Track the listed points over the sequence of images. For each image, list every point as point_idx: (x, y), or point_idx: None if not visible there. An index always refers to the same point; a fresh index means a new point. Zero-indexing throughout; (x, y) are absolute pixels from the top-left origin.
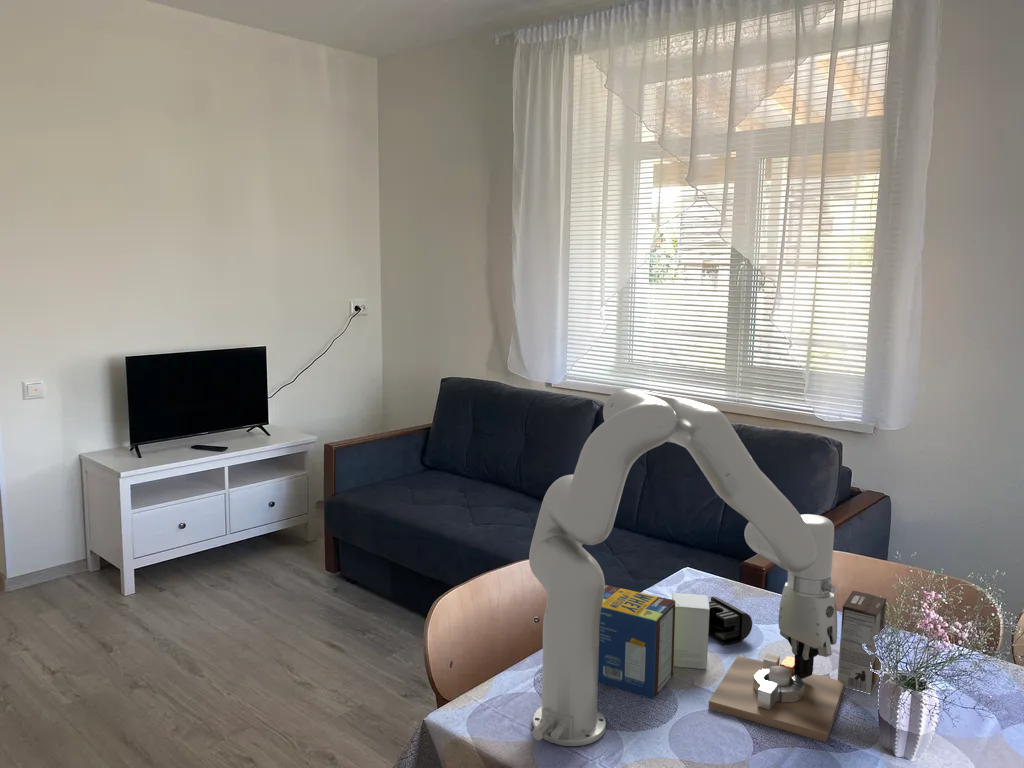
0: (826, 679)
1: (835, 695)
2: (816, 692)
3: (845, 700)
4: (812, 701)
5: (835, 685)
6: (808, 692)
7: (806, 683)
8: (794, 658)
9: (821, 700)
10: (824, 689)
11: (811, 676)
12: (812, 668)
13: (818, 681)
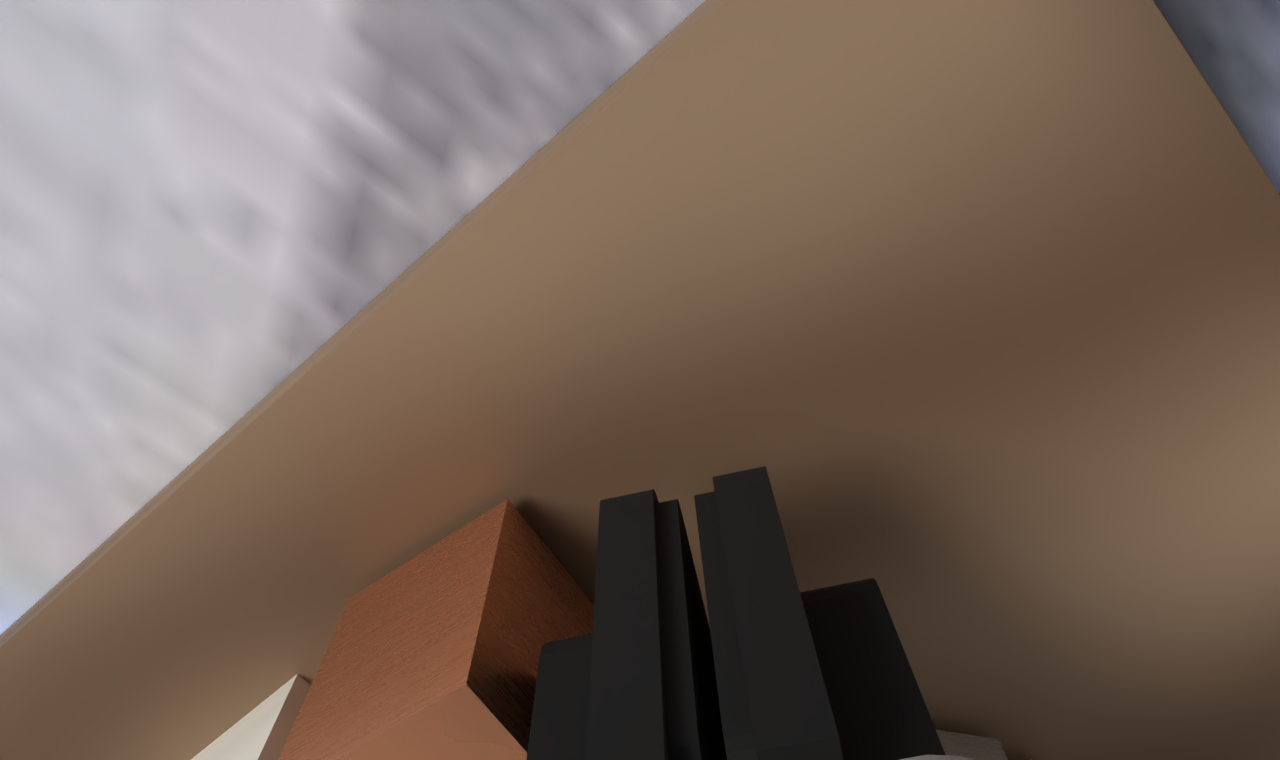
0: (778, 80)
1: (1274, 322)
2: (1051, 543)
3: (1222, 50)
4: (1212, 745)
5: (1027, 74)
6: (994, 647)
7: None
8: (405, 749)
9: (1257, 617)
10: (1037, 362)
11: (588, 278)
12: (893, 637)
13: (778, 275)
